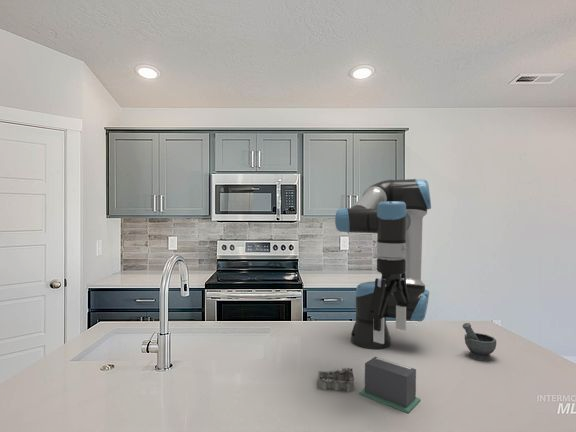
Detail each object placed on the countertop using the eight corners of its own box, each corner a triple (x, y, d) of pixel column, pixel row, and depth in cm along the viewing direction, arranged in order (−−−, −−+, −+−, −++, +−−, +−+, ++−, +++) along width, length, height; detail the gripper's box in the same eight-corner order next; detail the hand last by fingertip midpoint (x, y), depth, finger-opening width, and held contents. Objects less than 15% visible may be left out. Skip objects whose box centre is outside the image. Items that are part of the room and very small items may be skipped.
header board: (359, 393, 97) (359, 373, 97) (373, 383, 103) (373, 364, 103) (408, 413, 88) (408, 391, 88) (420, 400, 94) (420, 380, 94)
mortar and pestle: (485, 351, 129) (485, 318, 128) (502, 362, 119) (502, 327, 119) (455, 351, 128) (455, 319, 128) (470, 362, 119) (470, 327, 119)
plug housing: (364, 391, 97) (364, 362, 97) (374, 383, 102) (375, 355, 102) (406, 408, 89) (406, 376, 89) (415, 398, 94) (416, 368, 94)
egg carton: (353, 381, 105) (354, 367, 105) (354, 394, 98) (355, 379, 98) (318, 378, 107) (318, 364, 107) (316, 390, 100) (316, 376, 100)
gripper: (382, 264, 83) (382, 353, 84) (422, 254, 102) (421, 326, 103) (355, 261, 88) (354, 344, 89) (397, 252, 107) (396, 321, 108)
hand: (390, 335), depth 96 cm, fingers open, 13 cm apart
